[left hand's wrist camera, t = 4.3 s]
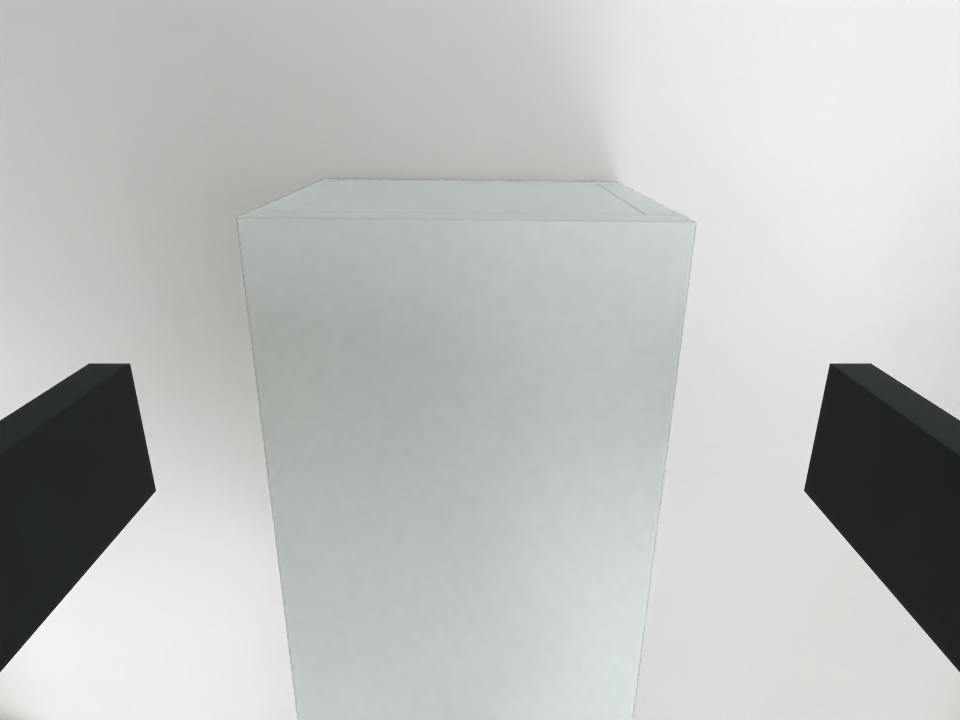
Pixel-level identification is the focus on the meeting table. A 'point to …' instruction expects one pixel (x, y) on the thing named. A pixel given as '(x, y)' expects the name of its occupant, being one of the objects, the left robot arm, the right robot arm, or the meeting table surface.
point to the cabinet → (465, 438)
